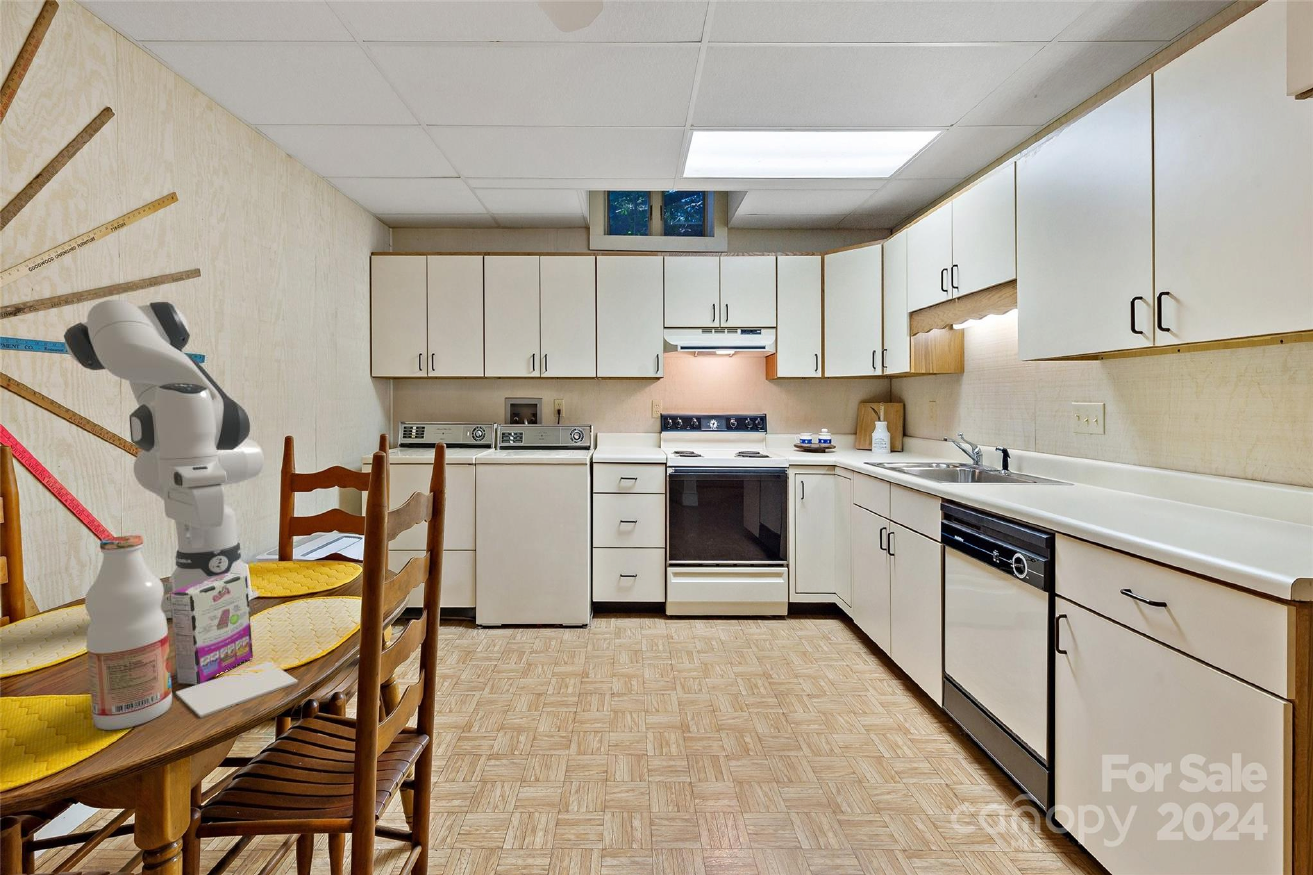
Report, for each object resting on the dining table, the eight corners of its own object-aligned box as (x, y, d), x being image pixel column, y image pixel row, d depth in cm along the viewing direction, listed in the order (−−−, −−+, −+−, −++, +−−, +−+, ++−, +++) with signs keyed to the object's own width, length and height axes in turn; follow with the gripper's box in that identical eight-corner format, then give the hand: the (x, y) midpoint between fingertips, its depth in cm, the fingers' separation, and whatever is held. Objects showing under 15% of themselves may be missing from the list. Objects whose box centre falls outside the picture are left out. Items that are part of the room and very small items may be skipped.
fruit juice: (75, 728, 91) (60, 545, 88) (139, 697, 100) (127, 530, 98) (128, 734, 89) (114, 548, 87) (188, 702, 98) (177, 532, 96)
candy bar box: (231, 656, 115) (226, 571, 114) (254, 658, 114) (249, 573, 113) (174, 684, 104) (168, 591, 103) (198, 687, 103) (192, 593, 102)
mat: (175, 693, 101) (175, 691, 101) (269, 663, 112) (269, 661, 112) (200, 717, 94) (200, 715, 94) (297, 682, 105) (297, 680, 105)
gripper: (151, 470, 114) (156, 542, 116) (186, 478, 102) (192, 559, 103) (191, 466, 119) (196, 535, 121) (230, 474, 107) (235, 550, 108)
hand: (195, 546), depth 112 cm, fingers closed
